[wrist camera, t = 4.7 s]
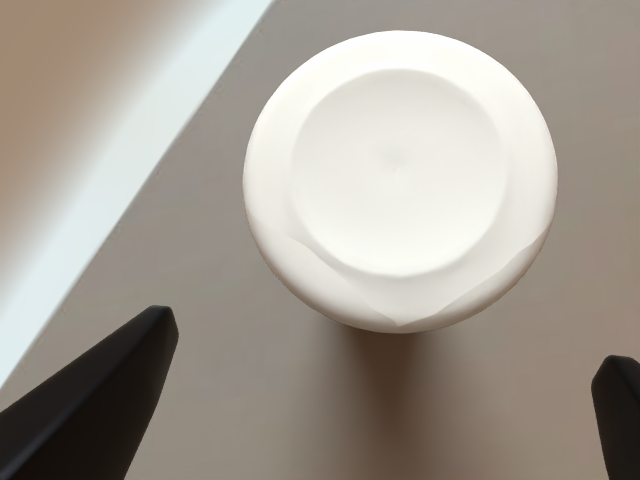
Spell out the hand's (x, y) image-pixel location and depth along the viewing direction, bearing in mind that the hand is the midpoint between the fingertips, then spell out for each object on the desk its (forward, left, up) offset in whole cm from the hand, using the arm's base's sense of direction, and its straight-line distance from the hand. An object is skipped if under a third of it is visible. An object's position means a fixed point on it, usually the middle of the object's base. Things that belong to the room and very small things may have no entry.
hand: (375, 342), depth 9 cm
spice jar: (+1, +2, -10) cm, 10 cm away
